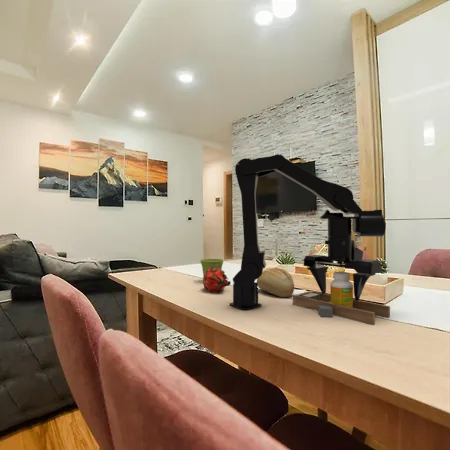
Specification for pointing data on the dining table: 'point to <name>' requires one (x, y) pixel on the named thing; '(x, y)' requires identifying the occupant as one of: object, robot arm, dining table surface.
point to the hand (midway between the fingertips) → (339, 296)
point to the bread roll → (276, 282)
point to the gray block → (325, 311)
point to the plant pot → (211, 264)
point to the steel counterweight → (312, 296)
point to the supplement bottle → (342, 289)
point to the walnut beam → (344, 307)
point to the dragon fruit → (215, 279)
